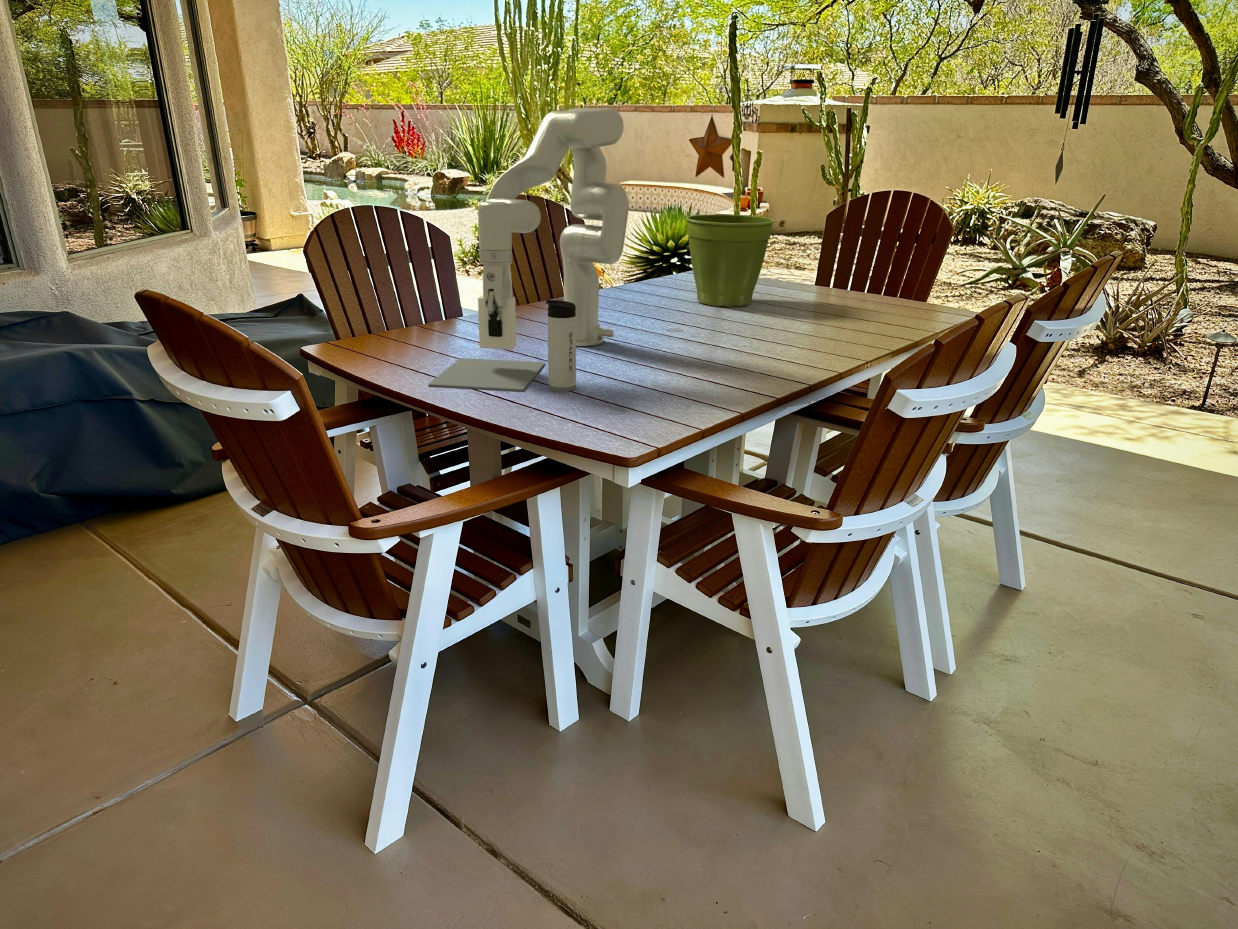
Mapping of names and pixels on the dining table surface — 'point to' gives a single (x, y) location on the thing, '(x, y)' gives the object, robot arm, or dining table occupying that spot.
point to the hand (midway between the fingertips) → (498, 333)
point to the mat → (488, 374)
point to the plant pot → (727, 256)
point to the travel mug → (561, 345)
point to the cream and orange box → (508, 326)
